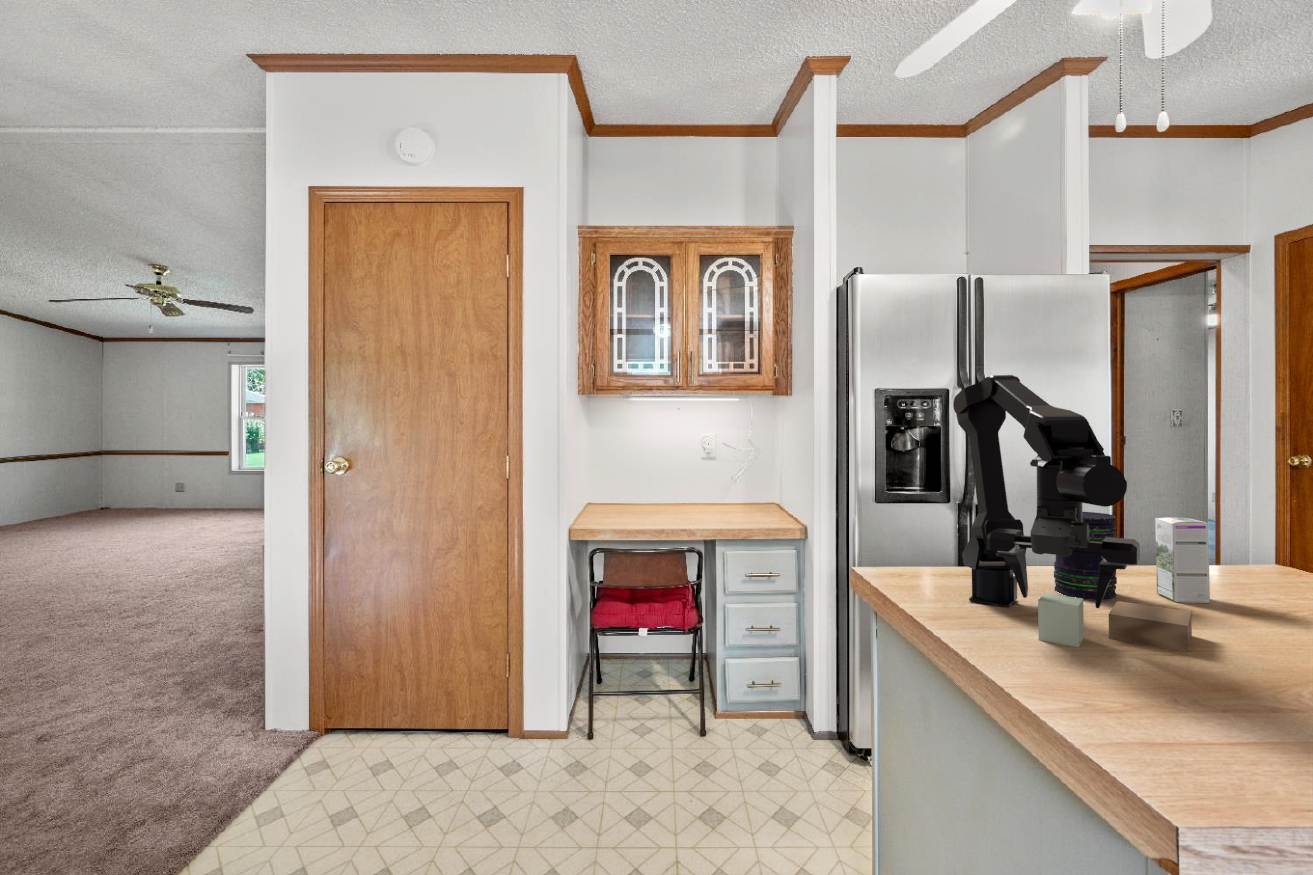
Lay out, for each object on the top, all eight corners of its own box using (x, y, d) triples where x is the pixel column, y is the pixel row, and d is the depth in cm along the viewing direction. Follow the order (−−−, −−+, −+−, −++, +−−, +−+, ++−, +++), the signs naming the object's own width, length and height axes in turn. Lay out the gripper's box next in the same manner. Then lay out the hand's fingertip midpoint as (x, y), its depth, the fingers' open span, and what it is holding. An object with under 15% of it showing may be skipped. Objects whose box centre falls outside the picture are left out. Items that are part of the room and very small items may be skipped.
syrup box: (1211, 603, 110) (1210, 521, 109) (1173, 602, 111) (1172, 521, 111) (1191, 595, 115) (1190, 517, 115) (1154, 594, 116) (1153, 516, 116)
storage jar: (1130, 600, 113) (1129, 518, 113) (1075, 601, 113) (1074, 518, 113) (1092, 586, 123) (1091, 510, 123) (1042, 587, 123) (1041, 511, 123)
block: (1108, 640, 93) (1108, 613, 93) (1117, 625, 100) (1117, 601, 100) (1187, 654, 87) (1187, 625, 87) (1191, 637, 93) (1191, 611, 93)
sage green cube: (1038, 640, 93) (1038, 600, 93) (1045, 631, 97) (1044, 593, 97) (1078, 647, 90) (1078, 605, 90) (1083, 638, 93) (1083, 598, 93)
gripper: (976, 499, 93) (977, 603, 93) (1132, 508, 81) (1133, 628, 81) (995, 493, 102) (996, 588, 102) (1139, 500, 89) (1140, 608, 89)
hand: (1060, 602), depth 93 cm, fingers open, 9 cm apart
